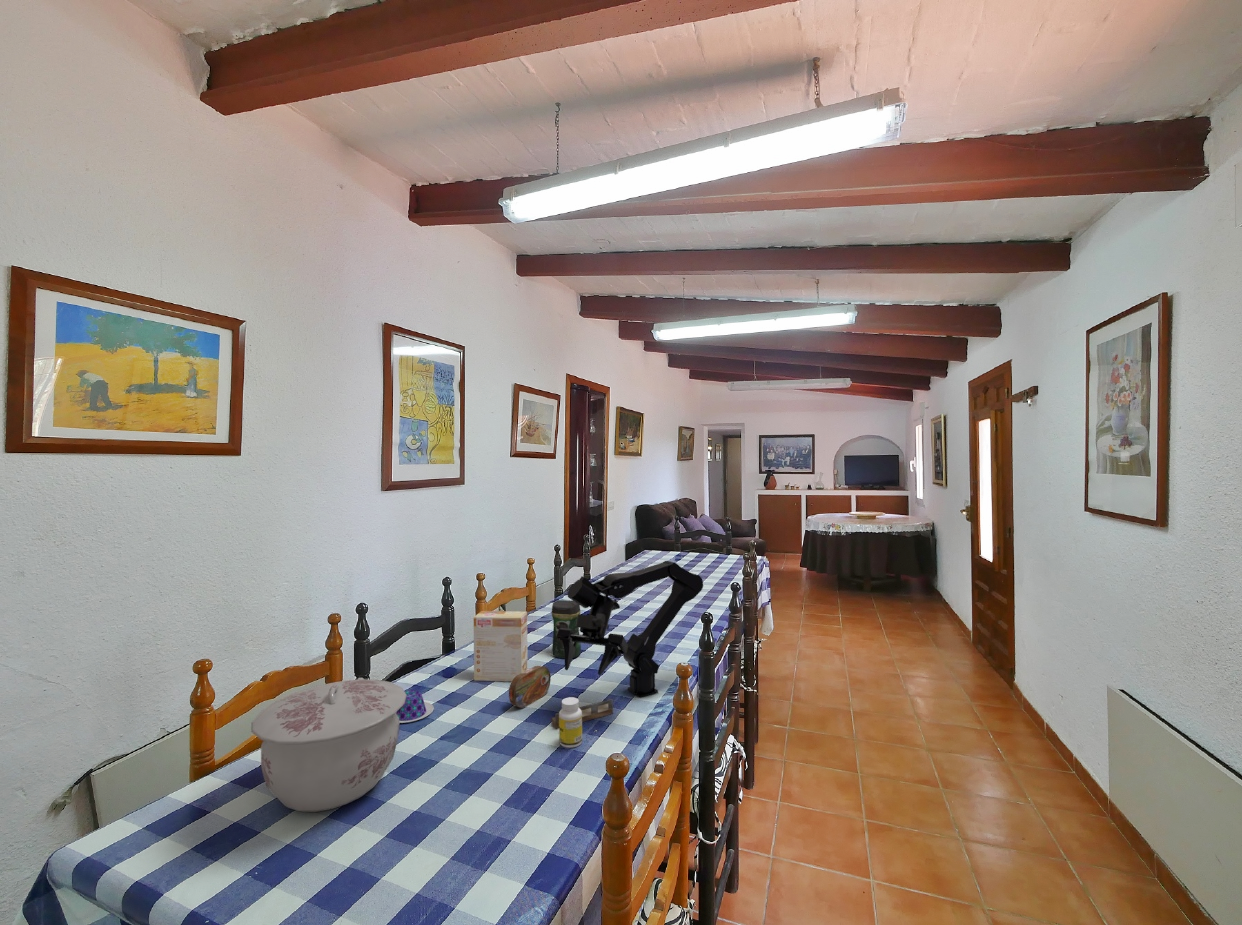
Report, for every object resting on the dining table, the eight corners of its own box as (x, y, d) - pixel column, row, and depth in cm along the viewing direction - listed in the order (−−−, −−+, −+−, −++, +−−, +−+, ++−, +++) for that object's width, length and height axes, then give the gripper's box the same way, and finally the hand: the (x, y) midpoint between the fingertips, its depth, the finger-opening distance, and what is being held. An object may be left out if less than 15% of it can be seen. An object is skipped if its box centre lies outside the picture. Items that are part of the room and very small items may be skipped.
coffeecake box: (528, 673, 166) (527, 610, 166) (521, 682, 159) (521, 617, 159) (481, 671, 167) (481, 609, 167) (473, 680, 160) (472, 616, 160)
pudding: (377, 715, 139) (376, 695, 139) (420, 700, 148) (420, 681, 148) (397, 730, 131) (396, 709, 131) (442, 713, 140) (442, 693, 140)
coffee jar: (583, 652, 184) (583, 598, 184) (575, 660, 176) (575, 604, 176) (558, 649, 187) (557, 597, 187) (548, 657, 179) (548, 602, 179)
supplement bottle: (559, 737, 127) (559, 696, 127) (582, 735, 127) (581, 695, 127) (558, 749, 121) (558, 706, 122) (582, 747, 122) (582, 705, 122)
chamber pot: (298, 858, 88) (297, 734, 88) (223, 803, 103) (223, 696, 103) (437, 774, 112) (436, 676, 112) (360, 739, 126) (360, 652, 126)
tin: (515, 713, 139) (515, 681, 139) (506, 710, 141) (506, 678, 141) (551, 691, 152) (551, 662, 152) (543, 689, 154) (542, 660, 154)
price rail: (607, 708, 141) (607, 695, 141) (613, 713, 138) (613, 699, 138) (551, 723, 133) (551, 709, 133) (556, 729, 130) (556, 714, 130)
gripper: (558, 597, 142) (538, 652, 132) (624, 603, 136) (608, 661, 125) (571, 619, 150) (553, 672, 139) (634, 625, 143) (619, 682, 133)
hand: (582, 672), depth 134 cm, fingers open, 9 cm apart
